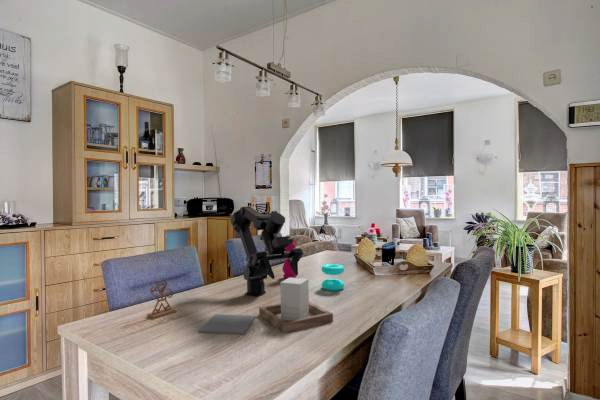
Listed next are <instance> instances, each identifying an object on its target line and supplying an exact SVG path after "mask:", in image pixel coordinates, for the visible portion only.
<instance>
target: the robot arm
mask: <svg viewBox="0 0 600 400" xmlns="http://www.w3.org/2000/svg"><path fill="white" fill-rule="evenodd" d="M285 223H286V216H284V215H282V214H281V213H279V212H278V211H277V210H272V211H271V212H270V214H263V213H261V212H259V211H258V210H256V209H254V207H253V206H241V207H240V208H239V209H238V210H237V211H235V212H234V213H233V214H232V215H231V217H230V224H231V225H232V228H233V230H234V231H236V233H238V234H239V237H240V240H241V242H242V243H241V244H242V245H243V246H242V247H243V250H244V252H245V254H246V258H247V262H246V265H245V269H244V272H243V279H244V280H245V281H246V291H247V292H245V293H244V295H247V296H254V297H259V296H261V295H264V294H266V292H267V291H266V290H265V289H266V288H265V287H266V286H265V281H264V279H265V280H266V279H268V277H270V278H271V279H272V280H275V277H276V276H275V273H274V270H273V268H272V266H271V263H270V261H279V260H281V261H282V260H285V259H288V261H289V262H290V263H289V265H290V267H291V268H292V270H293V272H294V274H295V275H296V277H297V276H298V275H299V266H298V264H299V262H300V260H301V258H302V256H303V255H304V251H303V249H302V248H301V247H297V248H296V247H295V249H291V251H290V253H285V252H284V251H286V250H287V248H286V247H287V246H289V245H290V244H292V243H293V242H294V240H293V239H294V238H293V237H292V235H291V234H287V235H286V236H278V234H279V233H280V232H281V230H282V229H283V226H284V225H285ZM251 224H252V226H253V228H254V229H255V230H256V231H261V232H260V237H259V239H260V241H263V244H264V251H258V250H257V246H256V244H255V241H254V239H253V236H252V232H251V229H250V227H251Z"/></svg>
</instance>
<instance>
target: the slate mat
mask: <svg viewBox="0 0 600 400" xmlns="http://www.w3.org/2000/svg"><path fill="white" fill-rule="evenodd" d="M256 318H257V316H256V315H248V314H246V315H244V314H219V313H217V314H216V313H215V314H214V315H213V316H212V317H211V318H210V319H209V320H208V321H206V323H205V324H204V325H202V326H201V327H200V329H198V333H203V334H206V333H207V334H223V335H224V334H225V335H226V334H227V335H228V334H229V335H230V334H231V335H245V334H246V333H247V331H248V329H249V328H250V327H251V326H252V323H254V321H255V320H256Z"/></svg>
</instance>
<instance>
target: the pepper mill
mask: <svg viewBox="0 0 600 400" xmlns="http://www.w3.org/2000/svg"><path fill="white" fill-rule="evenodd" d="M296 247H297V246H296V242H294V241H293V243H292V244H290V245H289V246H287V247H286V248H287V250H286V251H284V252H285V253H290V251H291V249H295V248H296ZM289 263H290V262H289V261H288V259H284V262H283V265H282V268H281V269H282V273H283V277H282V278H283V279H284V280H286V279H288V278H297V276H296V275H295V274H294V272H293V270H292V268H291V267H290V265H289Z"/></svg>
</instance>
